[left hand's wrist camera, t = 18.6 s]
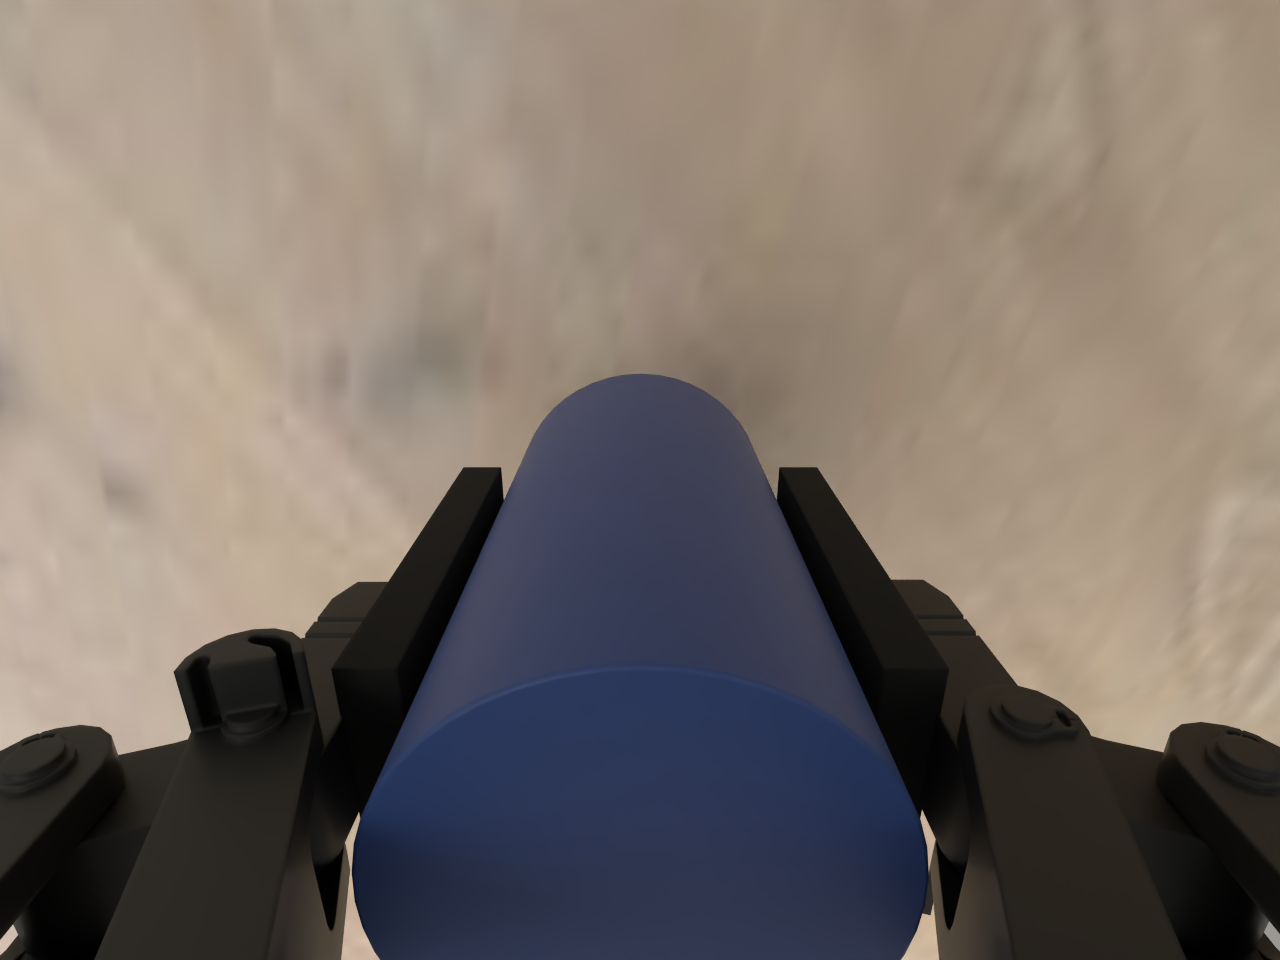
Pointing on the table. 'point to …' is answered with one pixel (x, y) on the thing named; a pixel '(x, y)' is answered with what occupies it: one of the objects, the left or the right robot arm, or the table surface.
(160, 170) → the table surface
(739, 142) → the table surface
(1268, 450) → the table surface
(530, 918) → the can
